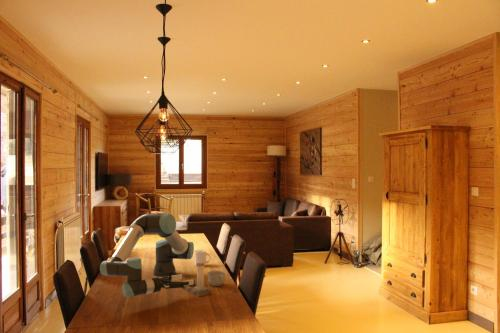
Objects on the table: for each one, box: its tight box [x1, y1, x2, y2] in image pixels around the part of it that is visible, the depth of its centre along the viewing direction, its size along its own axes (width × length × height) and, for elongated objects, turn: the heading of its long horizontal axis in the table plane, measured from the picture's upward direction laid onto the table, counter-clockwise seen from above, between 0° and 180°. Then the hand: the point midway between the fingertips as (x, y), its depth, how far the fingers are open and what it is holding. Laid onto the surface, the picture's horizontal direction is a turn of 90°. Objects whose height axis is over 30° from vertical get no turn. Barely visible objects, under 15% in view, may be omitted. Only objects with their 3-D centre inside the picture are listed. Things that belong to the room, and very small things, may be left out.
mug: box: [193, 249, 212, 267], centre depth 315 cm, size 9×12×11 cm
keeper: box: [194, 263, 208, 292], centre depth 245 cm, size 6×5×16 cm
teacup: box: [207, 270, 226, 287], centre depth 261 cm, size 14×11×8 cm
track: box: [181, 279, 212, 297], centre depth 249 cm, size 20×8×4 cm, turn 36°
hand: (187, 279), depth 239 cm, fingers open, 13 cm apart
